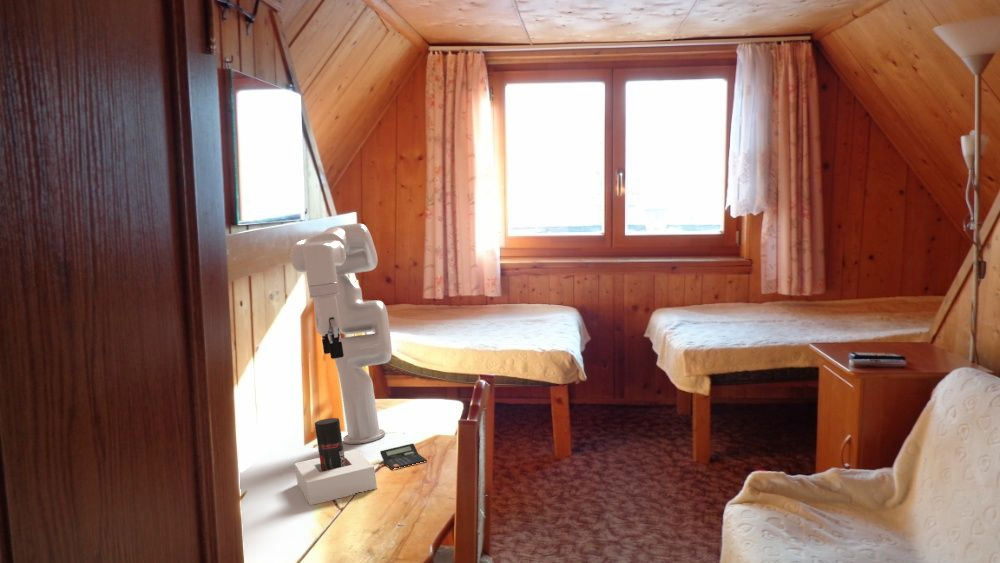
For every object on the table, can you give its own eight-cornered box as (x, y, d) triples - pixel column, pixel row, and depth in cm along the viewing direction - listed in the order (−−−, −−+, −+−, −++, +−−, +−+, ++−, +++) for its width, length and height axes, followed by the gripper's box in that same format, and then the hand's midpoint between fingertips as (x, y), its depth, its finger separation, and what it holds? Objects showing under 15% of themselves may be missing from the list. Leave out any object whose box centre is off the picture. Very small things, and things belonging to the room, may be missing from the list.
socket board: (297, 484, 200) (294, 463, 199) (358, 469, 206) (355, 449, 205) (310, 505, 181) (306, 482, 181) (377, 488, 187) (374, 466, 187)
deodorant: (344, 482, 190) (336, 422, 190) (320, 485, 191) (312, 425, 190) (349, 475, 196) (341, 416, 195) (326, 477, 197) (318, 419, 196)
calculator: (392, 471, 201) (391, 460, 201) (381, 461, 212) (379, 450, 212) (427, 463, 205) (425, 451, 205) (414, 453, 215) (412, 443, 215)
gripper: (304, 291, 208) (313, 353, 210) (315, 295, 192) (325, 362, 194) (332, 286, 211) (341, 348, 212) (345, 290, 195) (355, 357, 196)
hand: (333, 355), depth 203 cm, fingers open, 9 cm apart
